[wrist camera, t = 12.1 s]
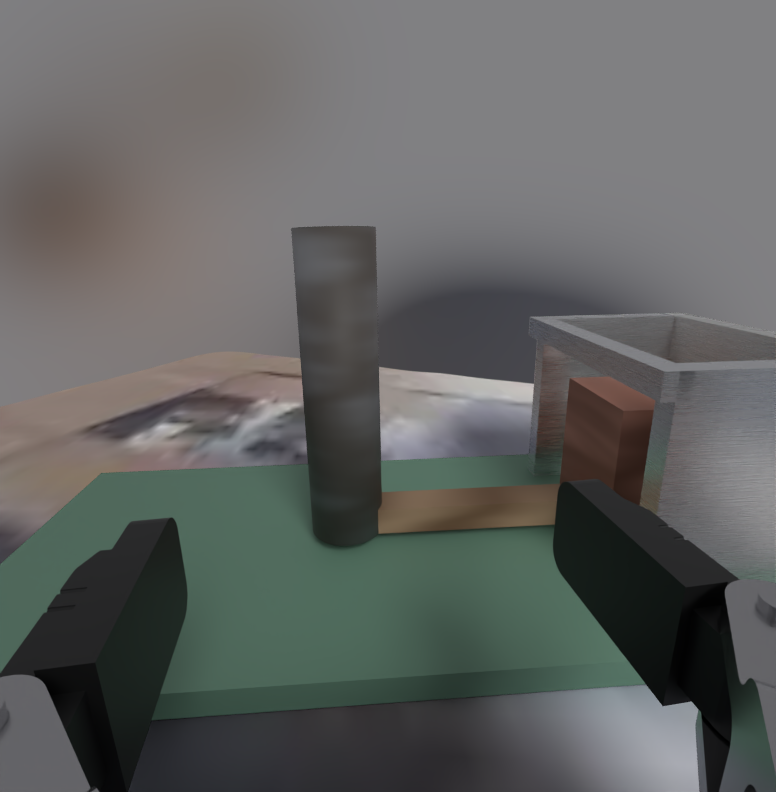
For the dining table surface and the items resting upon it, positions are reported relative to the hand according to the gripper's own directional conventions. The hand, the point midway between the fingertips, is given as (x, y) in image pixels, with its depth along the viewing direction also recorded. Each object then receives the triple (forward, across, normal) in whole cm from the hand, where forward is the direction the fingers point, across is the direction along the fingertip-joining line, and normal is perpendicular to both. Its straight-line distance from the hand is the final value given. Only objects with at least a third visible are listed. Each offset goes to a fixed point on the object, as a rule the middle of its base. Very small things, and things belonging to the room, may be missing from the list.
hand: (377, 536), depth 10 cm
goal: (+10, -14, +7) cm, 19 cm away
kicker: (+11, -6, +7) cm, 14 cm away
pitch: (+11, -2, +8) cm, 14 cm away
